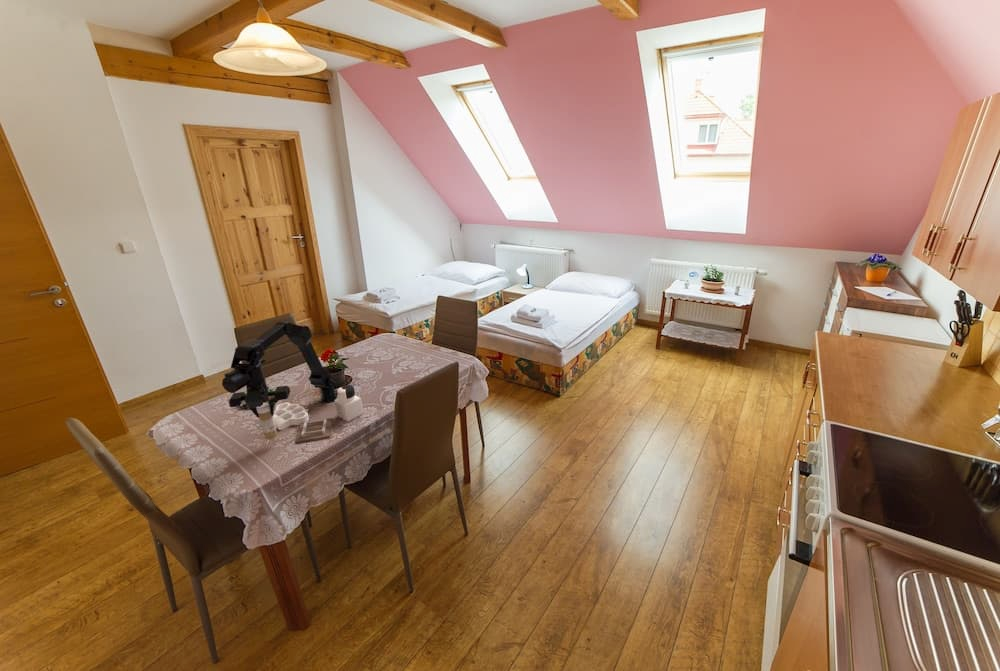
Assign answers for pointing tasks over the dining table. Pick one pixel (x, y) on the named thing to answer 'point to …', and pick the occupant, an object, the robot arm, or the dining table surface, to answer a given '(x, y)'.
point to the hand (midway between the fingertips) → (265, 416)
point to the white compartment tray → (289, 415)
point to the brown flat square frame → (314, 430)
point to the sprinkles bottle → (267, 421)
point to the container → (348, 403)
